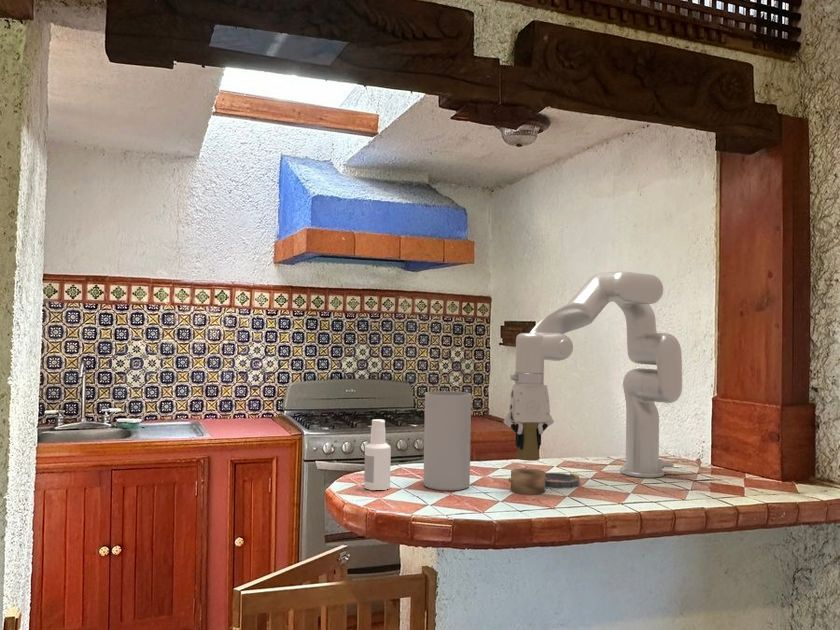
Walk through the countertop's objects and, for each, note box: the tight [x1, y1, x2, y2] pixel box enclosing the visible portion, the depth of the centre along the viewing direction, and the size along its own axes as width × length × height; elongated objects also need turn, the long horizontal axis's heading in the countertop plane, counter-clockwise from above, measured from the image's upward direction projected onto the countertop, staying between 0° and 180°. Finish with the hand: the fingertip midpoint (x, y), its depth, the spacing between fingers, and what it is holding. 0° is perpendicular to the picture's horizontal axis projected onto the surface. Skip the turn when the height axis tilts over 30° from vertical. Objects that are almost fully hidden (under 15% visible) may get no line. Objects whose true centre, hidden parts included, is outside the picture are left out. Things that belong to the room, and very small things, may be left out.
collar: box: [545, 472, 580, 489], centre depth 192 cm, size 12×12×2 cm
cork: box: [516, 423, 540, 462], centre depth 183 cm, size 6×6×11 cm
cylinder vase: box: [422, 390, 472, 492], centre depth 186 cm, size 12×12×25 cm
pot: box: [507, 467, 548, 496], centre depth 182 cm, size 11×9×5 cm
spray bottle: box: [363, 418, 392, 491], centre depth 182 cm, size 7×7×18 cm
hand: (528, 448), depth 182 cm, fingers closed on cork, 3 cm apart
